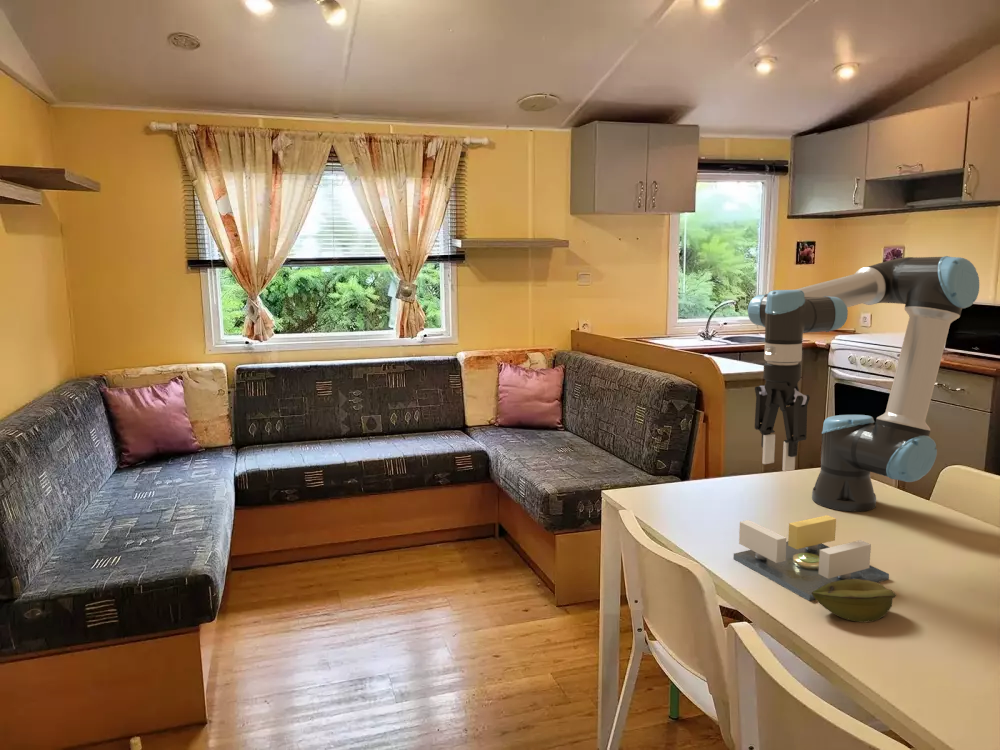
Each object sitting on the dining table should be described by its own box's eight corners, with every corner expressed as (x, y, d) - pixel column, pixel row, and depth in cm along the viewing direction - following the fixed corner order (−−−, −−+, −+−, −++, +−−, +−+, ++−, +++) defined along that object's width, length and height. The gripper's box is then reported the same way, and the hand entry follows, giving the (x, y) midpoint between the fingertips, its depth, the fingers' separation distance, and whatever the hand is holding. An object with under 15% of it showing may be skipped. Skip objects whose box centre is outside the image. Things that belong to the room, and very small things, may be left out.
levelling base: (807, 541, 161) (807, 530, 160) (888, 579, 142) (889, 566, 141) (733, 558, 153) (733, 546, 153) (809, 601, 134) (810, 587, 133)
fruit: (881, 637, 121) (884, 601, 120) (809, 615, 129) (810, 581, 128) (897, 611, 129) (900, 577, 128) (828, 592, 137) (830, 560, 136)
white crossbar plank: (738, 548, 155) (739, 521, 154) (747, 546, 155) (748, 520, 154) (776, 568, 145) (777, 539, 144) (785, 566, 145) (786, 537, 144)
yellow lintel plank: (825, 541, 157) (827, 515, 156) (834, 545, 155) (836, 518, 154) (787, 550, 153) (789, 523, 152) (796, 554, 151) (797, 527, 150)
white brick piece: (858, 568, 143) (860, 540, 142) (869, 573, 141) (871, 544, 140) (818, 579, 139) (819, 549, 138) (827, 584, 137) (829, 554, 136)
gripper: (739, 358, 159) (735, 458, 163) (802, 369, 142) (797, 480, 146) (765, 355, 161) (761, 454, 165) (830, 366, 145) (824, 475, 149)
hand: (778, 466), depth 156 cm, fingers open, 5 cm apart
